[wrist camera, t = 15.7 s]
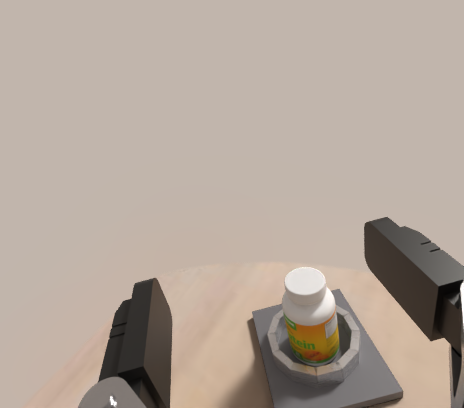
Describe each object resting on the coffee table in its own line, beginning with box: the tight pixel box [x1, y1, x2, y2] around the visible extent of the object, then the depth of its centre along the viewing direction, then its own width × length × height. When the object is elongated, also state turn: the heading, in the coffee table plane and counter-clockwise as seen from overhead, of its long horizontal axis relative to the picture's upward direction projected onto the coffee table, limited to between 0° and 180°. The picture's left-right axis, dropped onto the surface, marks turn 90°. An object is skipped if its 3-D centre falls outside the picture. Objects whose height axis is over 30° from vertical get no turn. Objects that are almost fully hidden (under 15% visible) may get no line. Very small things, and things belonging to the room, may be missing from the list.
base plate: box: [252, 289, 403, 408], centre depth 35 cm, size 12×14×1 cm
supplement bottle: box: [282, 267, 339, 366], centre depth 33 cm, size 5×5×10 cm
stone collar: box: [268, 305, 361, 388], centre depth 35 cm, size 10×10×2 cm
